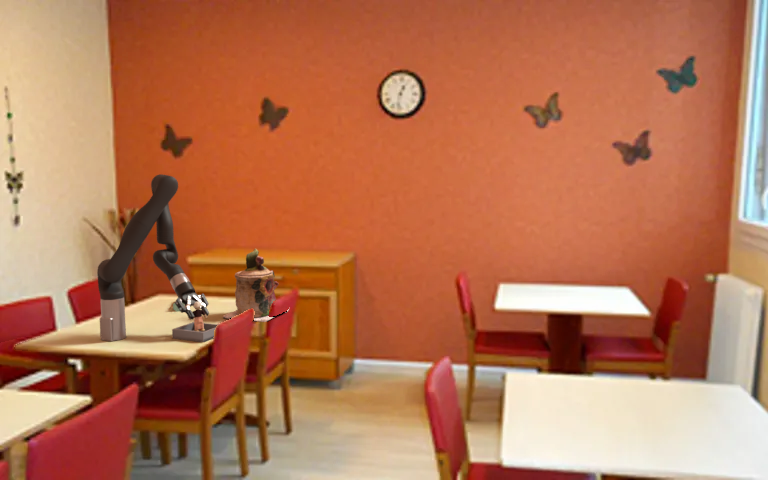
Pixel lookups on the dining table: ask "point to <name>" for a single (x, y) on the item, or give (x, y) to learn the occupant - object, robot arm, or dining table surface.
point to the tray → (194, 332)
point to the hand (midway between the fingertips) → (200, 316)
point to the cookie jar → (254, 288)
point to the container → (177, 307)
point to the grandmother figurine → (198, 317)
